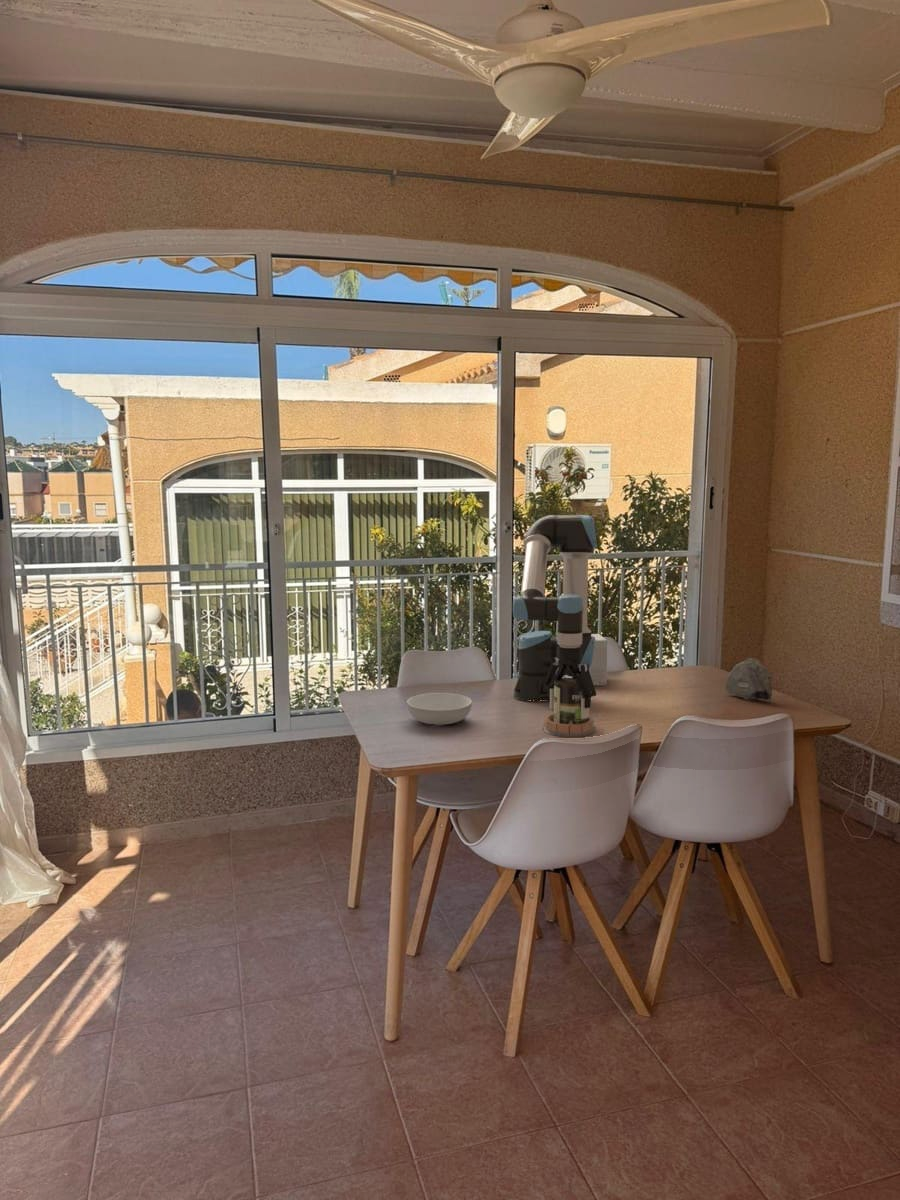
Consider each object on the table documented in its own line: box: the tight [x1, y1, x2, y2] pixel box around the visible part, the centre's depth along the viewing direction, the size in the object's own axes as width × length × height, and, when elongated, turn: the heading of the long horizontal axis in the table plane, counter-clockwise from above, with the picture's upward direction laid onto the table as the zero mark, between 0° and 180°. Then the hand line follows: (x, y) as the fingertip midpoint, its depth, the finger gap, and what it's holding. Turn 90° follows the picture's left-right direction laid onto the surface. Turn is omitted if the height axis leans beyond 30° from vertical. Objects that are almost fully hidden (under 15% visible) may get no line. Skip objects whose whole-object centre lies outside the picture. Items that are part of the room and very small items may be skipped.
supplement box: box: [565, 633, 608, 686], centre depth 311 cm, size 13×13×18 cm
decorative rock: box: [724, 657, 773, 701], centre depth 284 cm, size 16×7×15 cm, turn 33°
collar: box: [542, 712, 596, 738], centre depth 252 cm, size 16×16×4 cm
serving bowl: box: [406, 692, 473, 726], centre depth 262 cm, size 21×21×7 cm
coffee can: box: [553, 677, 587, 724], centre depth 251 cm, size 10×10×14 cm
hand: (569, 713), depth 251 cm, fingers open, 13 cm apart
